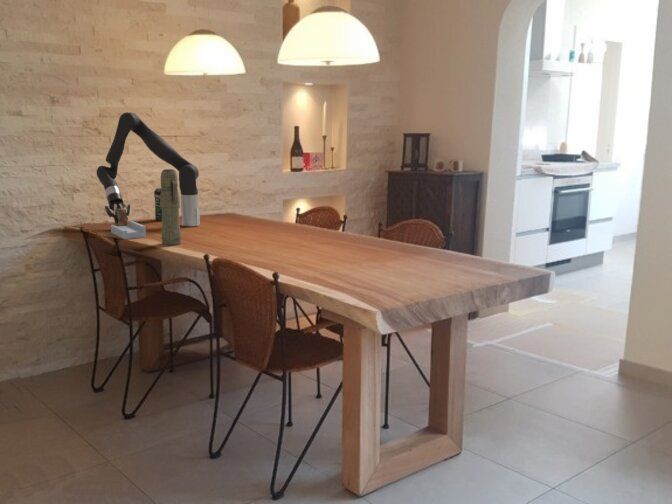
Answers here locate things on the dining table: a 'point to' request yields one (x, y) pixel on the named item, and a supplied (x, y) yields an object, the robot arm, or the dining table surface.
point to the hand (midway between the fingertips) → (121, 221)
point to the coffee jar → (158, 204)
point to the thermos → (170, 208)
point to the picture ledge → (129, 230)
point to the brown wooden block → (121, 217)
